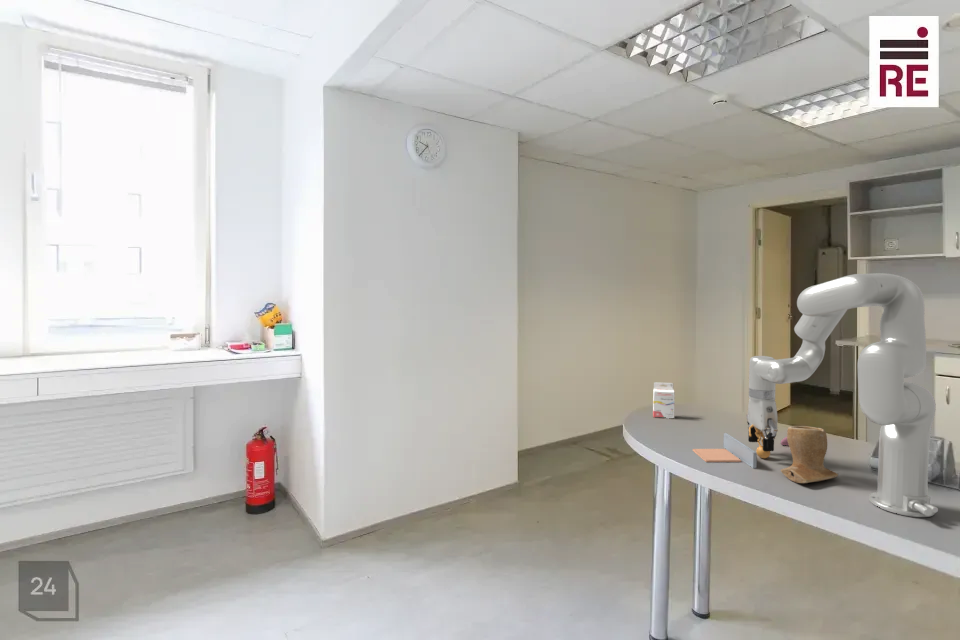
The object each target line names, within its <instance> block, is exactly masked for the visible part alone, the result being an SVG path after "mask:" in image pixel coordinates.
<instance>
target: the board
mask: <svg viewBox="0 0 960 640" xmlns="http://www.w3.org/2000/svg"><path fill="white" fill-rule="evenodd" d="M692 452H694V453H695V454H696V455H697V456H698V457H699V458H701V459H702V460H703V461H704V462H706V463H742V460H741V459H739V458H738V457H737V456H735V455H734V454H732V453H731V452H730V451H728V450H727V449H725V448H692Z"/></svg>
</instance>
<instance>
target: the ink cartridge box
mask: <svg viewBox="0 0 960 640" xmlns="http://www.w3.org/2000/svg"><path fill="white" fill-rule="evenodd" d="M663 385H664V386H663ZM652 391H653V392H652V393H653V395H652V396H653V397H652V417H653V418H655V417H666V418H665V419H669V418H674V419H675V399H676V397H675V395H676V394H675V393H676V392H675V389H674V383H673V382H656V381H655V382H653V390H652Z"/></svg>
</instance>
